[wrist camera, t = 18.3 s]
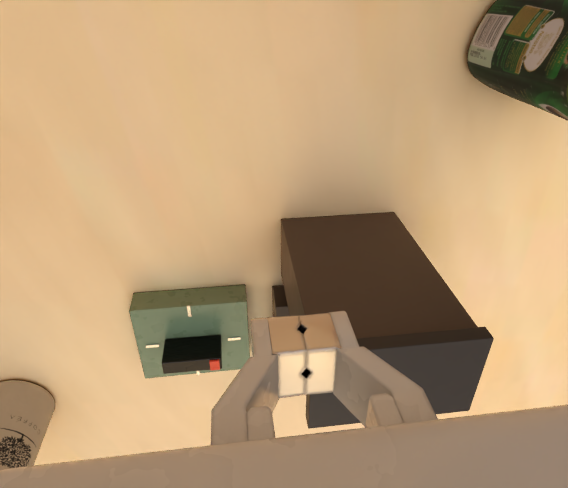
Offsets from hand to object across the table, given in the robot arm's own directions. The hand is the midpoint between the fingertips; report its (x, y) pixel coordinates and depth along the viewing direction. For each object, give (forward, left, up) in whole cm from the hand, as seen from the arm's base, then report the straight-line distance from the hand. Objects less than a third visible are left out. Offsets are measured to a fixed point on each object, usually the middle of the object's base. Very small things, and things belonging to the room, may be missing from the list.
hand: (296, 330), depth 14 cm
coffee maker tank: (+9, -15, -29) cm, 34 cm away
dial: (-7, -25, -26) cm, 37 cm away
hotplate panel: (-7, -25, -29) cm, 39 cm away
